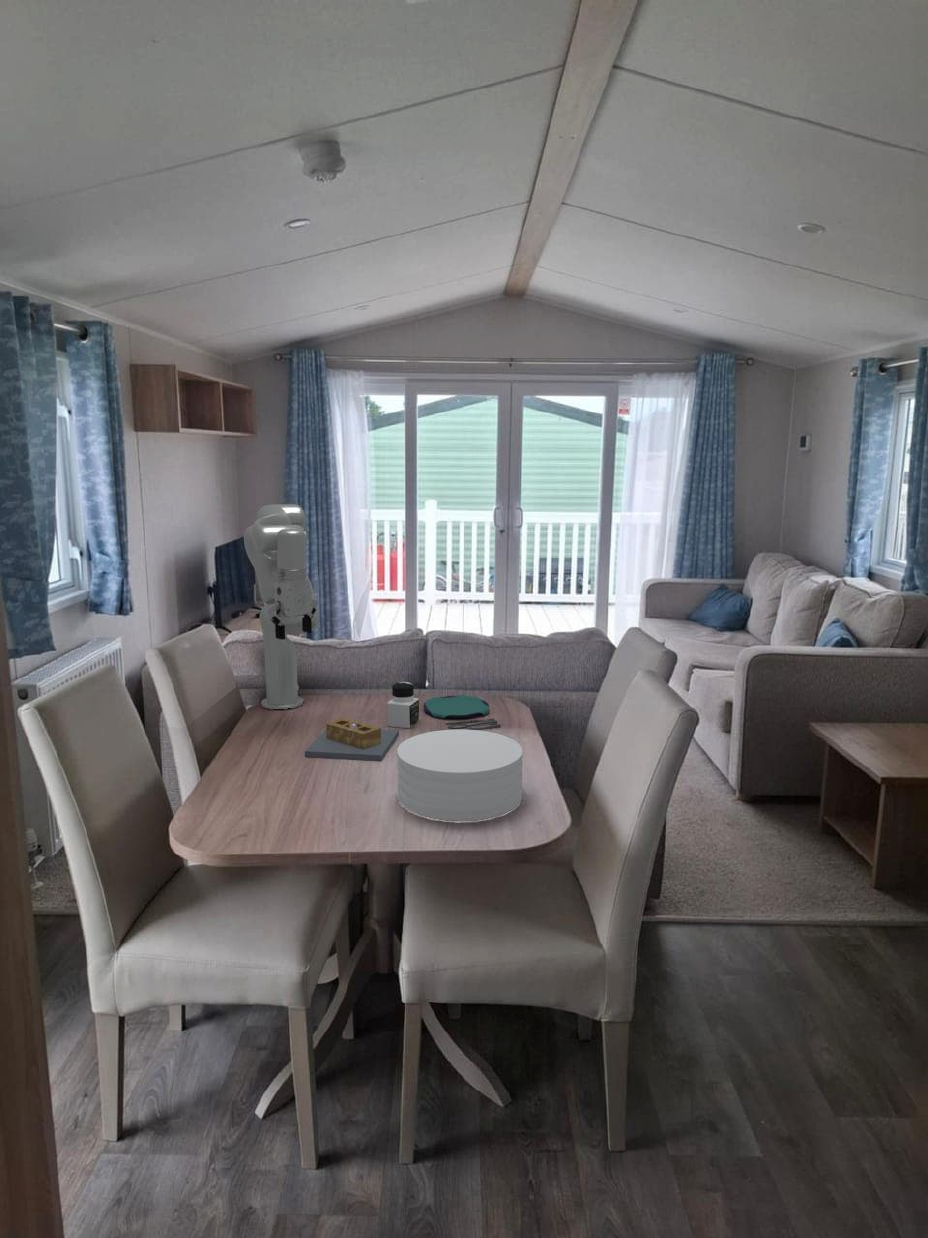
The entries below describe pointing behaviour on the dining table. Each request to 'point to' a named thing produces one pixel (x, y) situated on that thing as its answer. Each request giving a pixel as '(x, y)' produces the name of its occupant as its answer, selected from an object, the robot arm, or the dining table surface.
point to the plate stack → (459, 774)
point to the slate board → (351, 748)
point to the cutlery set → (460, 710)
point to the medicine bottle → (403, 706)
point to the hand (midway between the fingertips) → (294, 635)
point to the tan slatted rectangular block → (353, 733)
